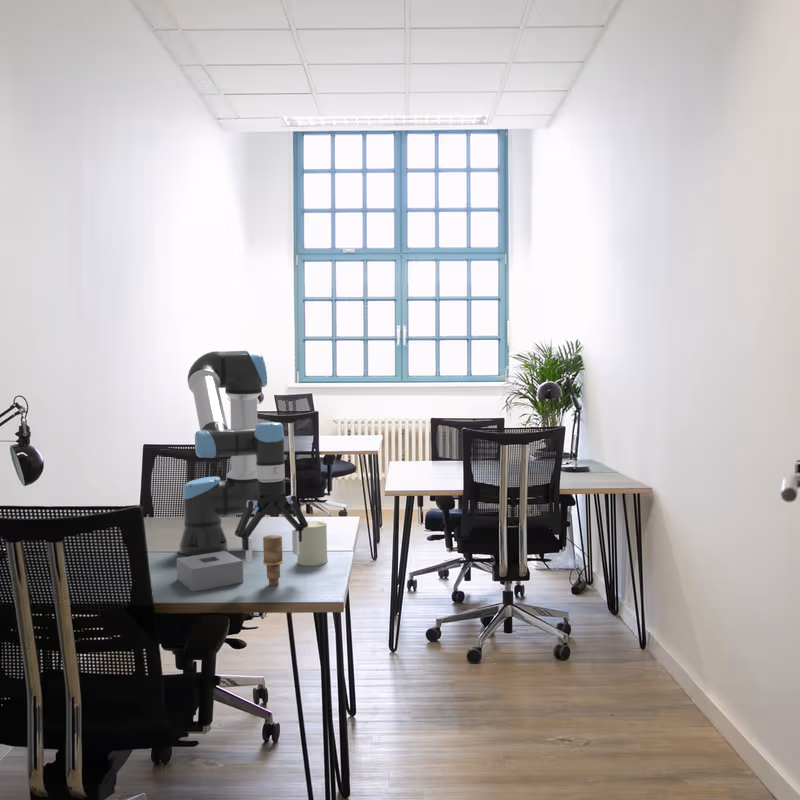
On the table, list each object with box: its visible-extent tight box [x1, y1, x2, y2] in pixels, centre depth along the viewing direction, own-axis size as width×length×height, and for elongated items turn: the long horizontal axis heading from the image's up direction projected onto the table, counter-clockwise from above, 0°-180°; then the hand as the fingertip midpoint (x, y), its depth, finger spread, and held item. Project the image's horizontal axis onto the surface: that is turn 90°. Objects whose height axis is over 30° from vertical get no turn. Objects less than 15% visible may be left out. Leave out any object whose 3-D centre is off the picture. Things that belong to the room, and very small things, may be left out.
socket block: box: [176, 550, 244, 593], centre depth 204 cm, size 14×14×6 cm
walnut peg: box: [262, 534, 284, 587], centre depth 199 cm, size 5×5×13 cm
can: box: [296, 520, 329, 567], centre depth 222 cm, size 9×9×12 cm
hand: (273, 558), depth 199 cm, fingers open, 13 cm apart
